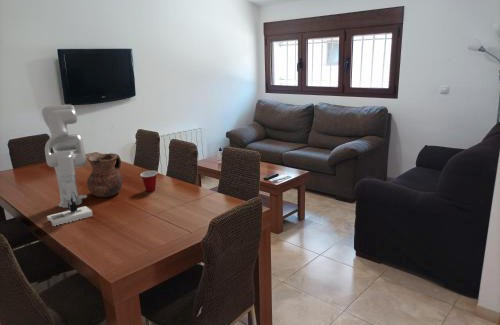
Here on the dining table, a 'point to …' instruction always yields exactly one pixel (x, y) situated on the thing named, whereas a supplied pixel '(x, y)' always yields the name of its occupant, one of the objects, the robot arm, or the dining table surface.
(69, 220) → the keyhole plate
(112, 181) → the jug
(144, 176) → the plastic cup
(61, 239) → the dining table surface
